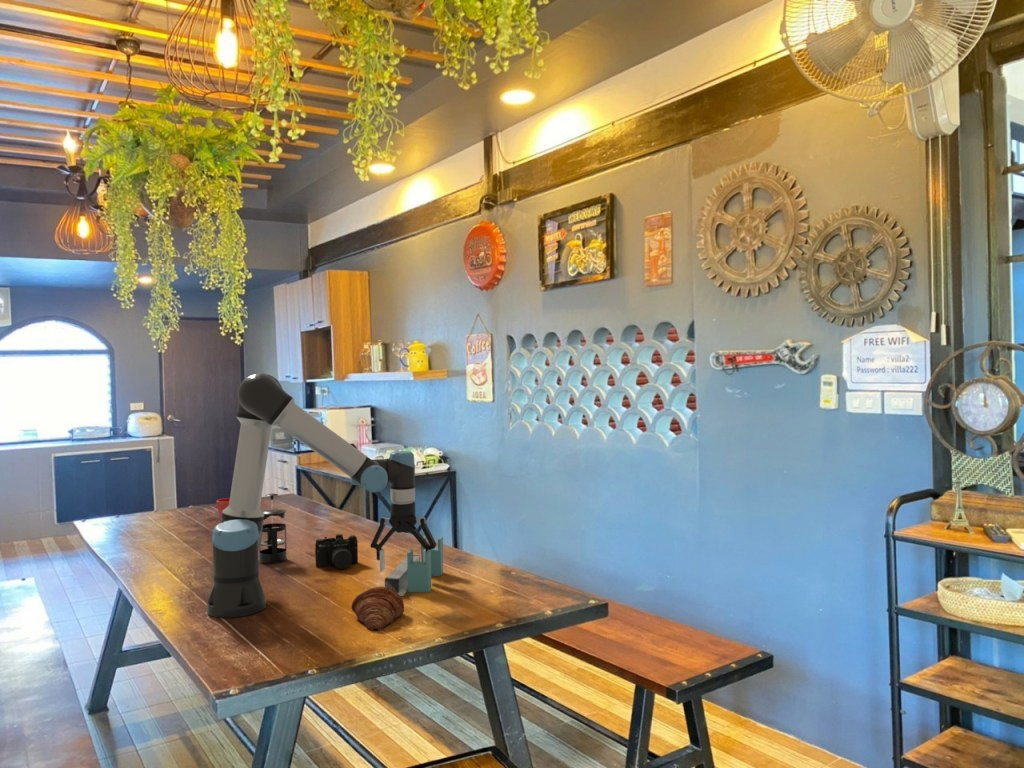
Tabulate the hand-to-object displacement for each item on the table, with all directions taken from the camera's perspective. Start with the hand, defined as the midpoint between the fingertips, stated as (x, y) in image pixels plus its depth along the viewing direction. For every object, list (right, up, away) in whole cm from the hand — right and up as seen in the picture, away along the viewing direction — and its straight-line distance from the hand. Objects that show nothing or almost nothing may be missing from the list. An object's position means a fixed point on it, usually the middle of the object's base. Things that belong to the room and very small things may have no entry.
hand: (403, 571), depth 231 cm
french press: (-49, -3, +28) cm, 57 cm away
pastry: (-2, -4, -34) cm, 34 cm away
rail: (0, -3, 0) cm, 3 cm away
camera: (-25, -3, +19) cm, 31 cm away
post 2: (+8, -3, +8) cm, 12 cm away
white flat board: (0, -3, 0) cm, 3 cm away
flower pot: (-90, -3, +98) cm, 133 cm away
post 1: (+6, -3, -10) cm, 12 cm away
